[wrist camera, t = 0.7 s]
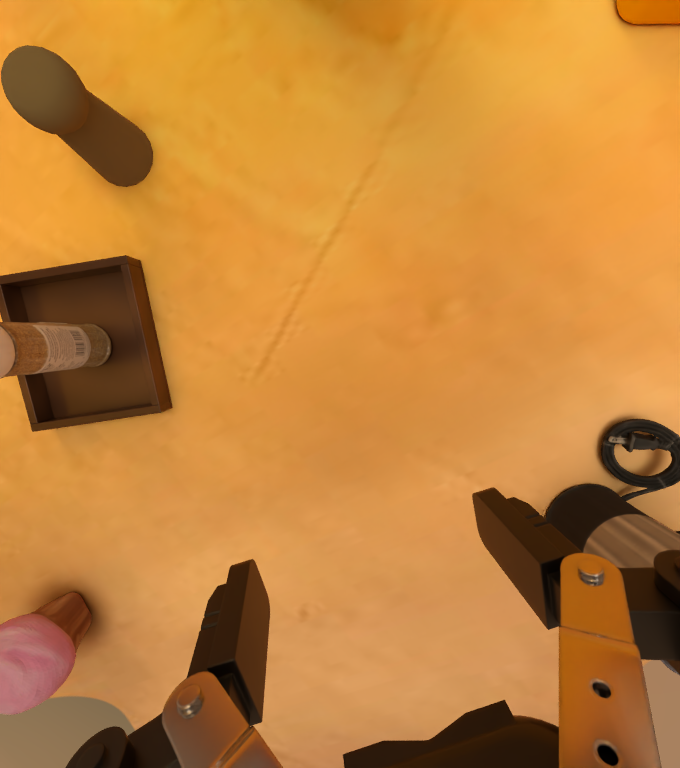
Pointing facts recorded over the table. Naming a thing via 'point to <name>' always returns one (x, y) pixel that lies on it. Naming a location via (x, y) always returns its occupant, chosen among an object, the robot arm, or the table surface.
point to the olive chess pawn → (75, 115)
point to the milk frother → (621, 503)
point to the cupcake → (40, 652)
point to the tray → (106, 310)
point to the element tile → (649, 11)
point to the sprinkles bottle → (50, 347)
